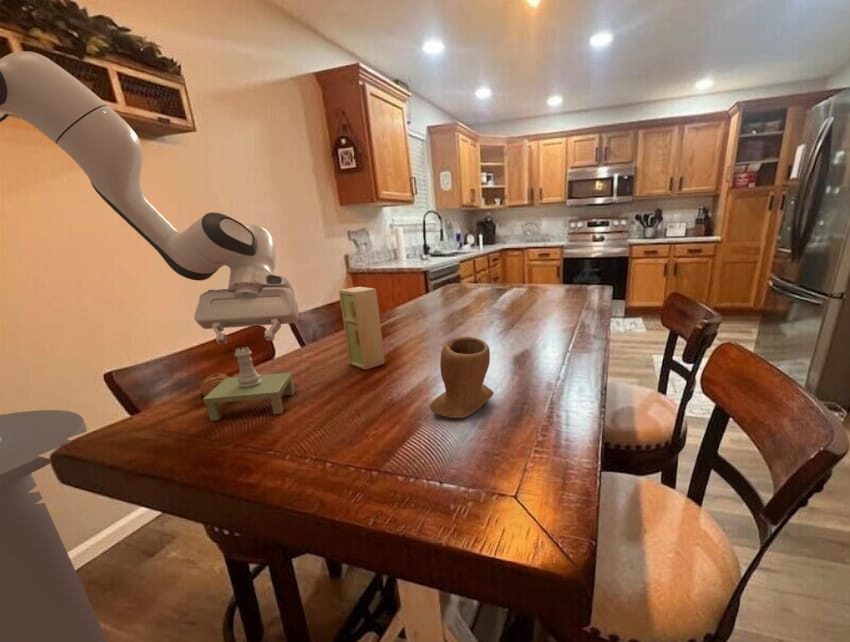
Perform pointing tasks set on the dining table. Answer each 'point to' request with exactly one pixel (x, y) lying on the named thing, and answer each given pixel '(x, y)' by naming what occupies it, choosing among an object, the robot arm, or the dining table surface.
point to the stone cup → (463, 377)
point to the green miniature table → (250, 392)
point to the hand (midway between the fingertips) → (245, 341)
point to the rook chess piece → (246, 369)
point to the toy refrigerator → (362, 327)
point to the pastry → (212, 383)
